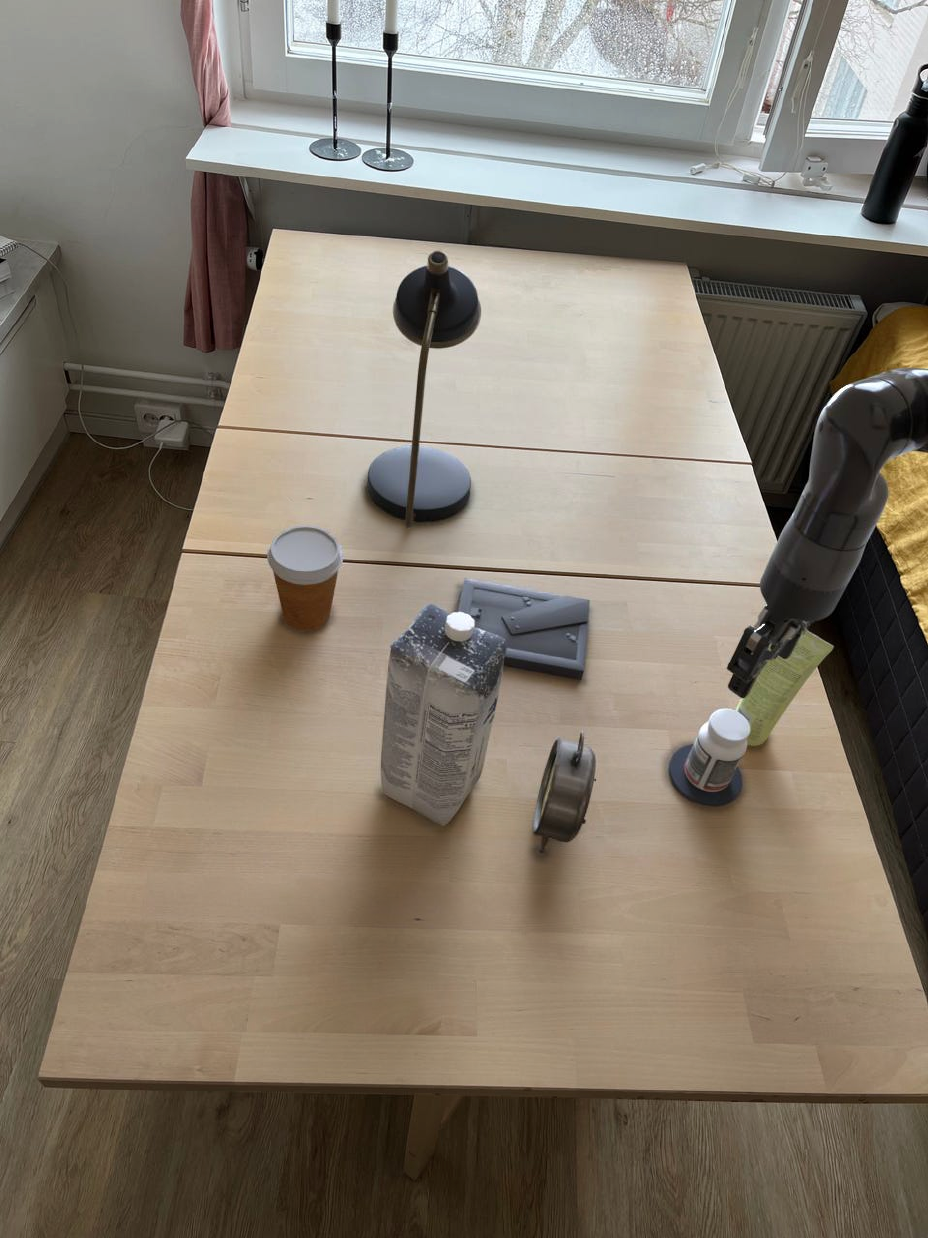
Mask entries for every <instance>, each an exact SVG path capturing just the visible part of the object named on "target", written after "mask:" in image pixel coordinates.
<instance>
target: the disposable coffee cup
mask: <svg viewBox="0 0 928 1238" xmlns="http://www.w3.org/2000/svg"><path fill="white" fill-rule="evenodd" d="M266 558H267V563H268V565H269V567H270V569H271V570H272V573H273V577H274V582H275V586H276V590H277V595H278V599H279V603H280V608H281V612H282V618H283V620H284V622H285V623H286V624H287V625H289V626H290V627H291V628H293V629H296V630H299V631H313V630H317V629H320V628H321V627H323V626H324V625H325V624H327V623H328V621H329V620H330V617H331V613H332V612H331V611H332V607H333V600H334V595H335V590H336V586H337V579H338V576H339V575H338V574H339V570H340V569H341V566H342V564H343V561H344V550H343V548H342V546H341V545H340V543H339V541H338V539H337V537H336V536H335V535H334V534H333V533H332V532H330V531H328V530H326V528H322V527H320V526H314V525H307V524H306V525H305V524H304V525H303V524H302V525H295V526H292V527H288V528H286V529H283V530H282V531H280V532H279V533H277V535H276V536H275V537H274V538H273V539H272V541H271V544H270V545H269V547H268V549H267V554H266Z"/></svg>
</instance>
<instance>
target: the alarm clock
mask: <svg viewBox="0 0 928 1238" xmlns="http://www.w3.org/2000/svg"><path fill="white" fill-rule="evenodd" d="M596 760H597V759H596V754H595V752H594V749H593V748H592V747H591V746H589V745H586V744H585V731H584V730H581V731H580V734H579V739H578V742H576V741H572V740H567V739H564V738H561V737H557V738H556V739H555V740H554V742H553V744H552V746H551V749H550V752H549V754H548V758H547V762H546V764H545V768H544V771H543V774H542V779H541V782H540V787H539V790H538V795H537V799H536V804H535V808H534V815H533V821H532V833H533V834H534V836H538V837H542V839H541V845H540V848H539V849H538V850H539V851H538V852H539V853H540V854H545V852H546V847H547V845H548V842H549V839H551V840H554V841H558V842H562V843H569V842H571V841H573V840H574V839H575V838H576V837H577V836H578V834H579V833H580V830H581V828H582V826H583V825H585V824H586V822H587V821H586V814H587V812H588V808H589V804H590V801H591V798H592V793H593V787H594V782H596V781H597V779H596V778H595V776H596V768H597V761H596Z"/></svg>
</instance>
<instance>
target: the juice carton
mask: <svg viewBox="0 0 928 1238" xmlns="http://www.w3.org/2000/svg"><path fill="white" fill-rule="evenodd" d="M457 612H458V611H457ZM457 612H451V613H449V612H448V611H446V610H444V609H443V608H441V607H439V606H438V605H436V604H435V603H427V604H426V605H425V606H424V607H423V608H422V609H421V610H420V612H419V613H418V614H417V616H416V617H415V618H414V619H413V622H411V624H410V625H409V626H408V628H407V629H405V631H404V632H403V633H402V634H401V635H399V637H398V638H397V639H395V640H394V641H393V642H392V643H391V644H390V646H389V648H390V652H389V658H388V663H387V664H388V665H387V675H386V687H385V698H384V699H385V700H384V714H383V726H382V727H383V728H382V738H381V739H382V740H381V751H380V752H381V753H380V783H381V792H382V793H383V794H384V795H385V796H387V797H389V798H390V799H393V800H394V801H396V802H398V803H400V804H402V805H404V806H406V807H408V808H410V809H412V810H413V811H415V812H417V813H418V814H420V815H422V816H424V817H425V818H427V819H429V820H430V821H432V822H433V823H435V824H437V825H439V826H442V827H445V826H447V825H448V824H449V822H450V821H451V820H452V819H453V818H454V816H455V815H456V813H457V812H458V811H459V809H460V808H461V807H462V805H463V804H464V802H465V800H466V799H467V796H468V795H469V793H470V792H471V791H472V790H473V789H474V787H475V786H476V784H477V783H478V782H479V780H480V778H481V776H482V774H483V769H484V764H485V759H486V756H487V751H488V746H489V741H490V736H491V732H492V727H493V723H494V718H495V712H496V708H497V704H498V697H499V693H500V689H501V684H502V679H503V671H504V666H503V663H504V657H505V653H506V646H507V643H506V640H505V639H504V638H502V637H500V636H498V635H495V634H492V633H490V632H487V631H484V630H481V629H478V628H475V627H474V623H475V621H474V619H473V618H471V616H470V615H469V614H465V613H463V612H458V613H457Z"/></svg>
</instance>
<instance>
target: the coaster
mask: <svg viewBox="0 0 928 1238" xmlns="http://www.w3.org/2000/svg"><path fill="white" fill-rule="evenodd" d="M693 745H694V743H691V744H686V745H684V746H681V747H679V748H678V749H677V750H676V751H675V752H674V753H673V754H672V756H671V758H670V760H669V764H668V773H669V777H670V780H671V782H672V784H673V786H674V788H676V790H677V791H678V792H679V793H680V794H681V795H682V796H683V797H685V798H686V799H688V800H690V802H693V803H695V804H698V805H700V806H703V807H711V808H715V807H716V808H717V807H724V806H726V805H729V804H731V803H732V802H734V801H735V800H736V799H737V798H738V796H739V795H740V793H741V791H742V788H743V775H742V772H741V770H740V768H739V766H738V767H737V769H736V771H735V773H734V775H733V777H732V779H731V781H730V783H729V784H728V786H727V787H726V788H724V789H723V790H721V791H717V792H708V791H704V790H701V789H699V788H697V787H696V786H694V785H693V784H692V783H691V782H690V781H689V779H688V778H687V776H686V773H685V763H686V760H687V758H688V756H689V753H690V751H691V749H692V747H693Z"/></svg>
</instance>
